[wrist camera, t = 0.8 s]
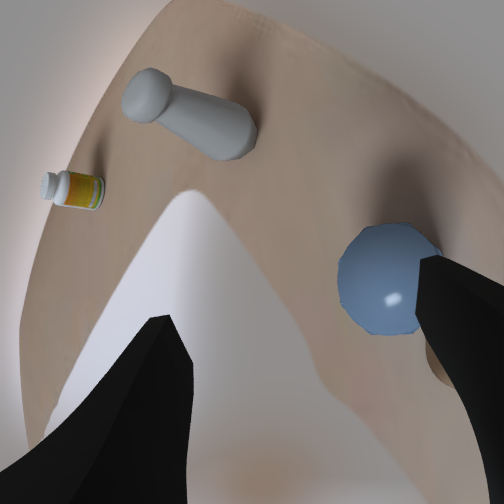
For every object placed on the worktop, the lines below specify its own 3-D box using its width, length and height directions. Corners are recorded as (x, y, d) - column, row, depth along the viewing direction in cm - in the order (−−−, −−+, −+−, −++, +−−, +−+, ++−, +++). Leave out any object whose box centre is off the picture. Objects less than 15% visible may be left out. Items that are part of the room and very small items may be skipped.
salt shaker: (220, 119, 32) (118, 72, 22) (265, 106, 29) (163, 42, 18) (217, 171, 32) (106, 135, 21) (264, 162, 29) (150, 111, 18)
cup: (460, 272, 19) (465, 274, 13) (407, 333, 21) (389, 357, 15) (401, 219, 22) (382, 201, 16) (354, 280, 24) (317, 283, 18)
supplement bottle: (106, 173, 46) (52, 162, 38) (104, 207, 45) (47, 199, 37) (91, 181, 49) (41, 172, 41) (89, 213, 48) (37, 206, 41)
